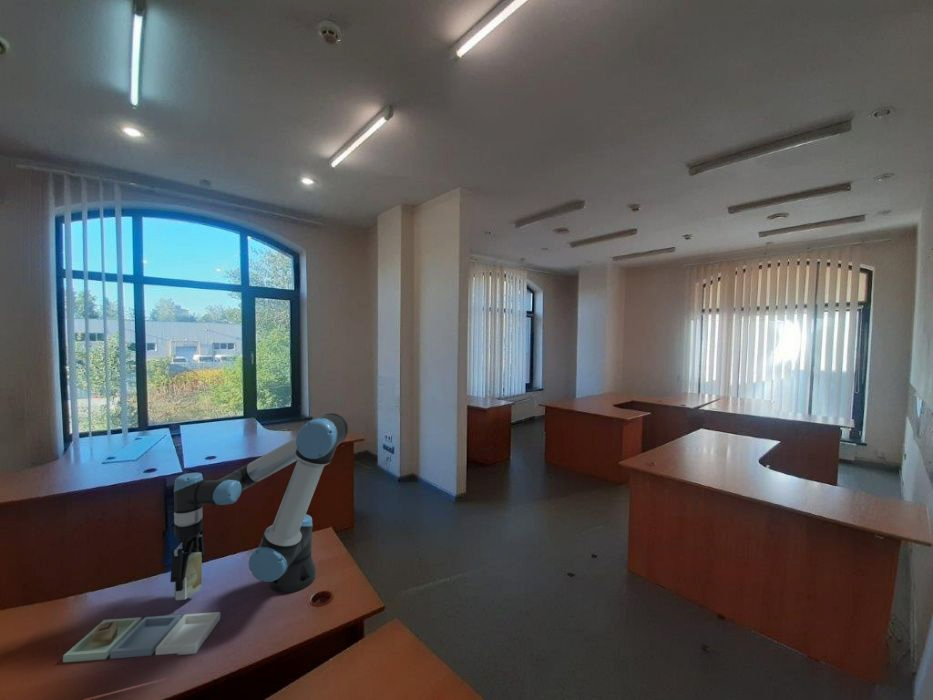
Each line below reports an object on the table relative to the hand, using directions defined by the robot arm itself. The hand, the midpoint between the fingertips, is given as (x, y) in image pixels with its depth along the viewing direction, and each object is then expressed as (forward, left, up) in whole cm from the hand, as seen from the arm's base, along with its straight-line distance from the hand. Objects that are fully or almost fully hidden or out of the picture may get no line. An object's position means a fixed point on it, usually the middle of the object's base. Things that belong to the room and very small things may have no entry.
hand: (188, 591), depth 122 cm
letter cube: (+13, +16, -3) cm, 21 cm away
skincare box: (0, 0, -1) cm, 1 cm away
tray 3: (-9, +16, -4) cm, 19 cm away
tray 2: (+2, +16, -4) cm, 16 cm away
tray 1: (+13, +16, -4) cm, 21 cm away
